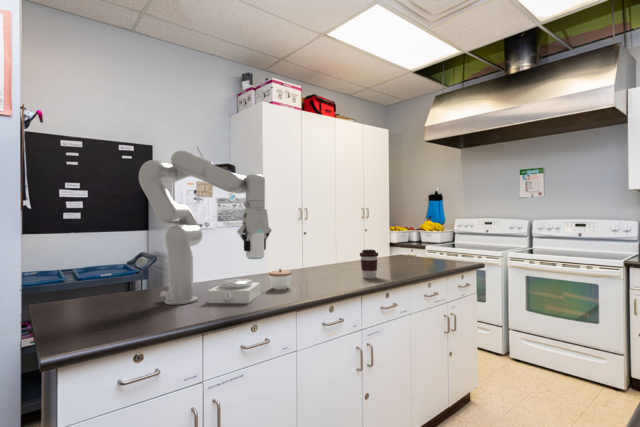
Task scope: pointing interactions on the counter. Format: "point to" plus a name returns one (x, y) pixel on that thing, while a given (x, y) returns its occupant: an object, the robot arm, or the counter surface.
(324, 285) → the counter surface
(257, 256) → the can
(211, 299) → the scale base
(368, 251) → the coffee cup
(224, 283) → the scale pan
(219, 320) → the counter surface
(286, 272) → the lidded jar
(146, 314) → the counter surface
